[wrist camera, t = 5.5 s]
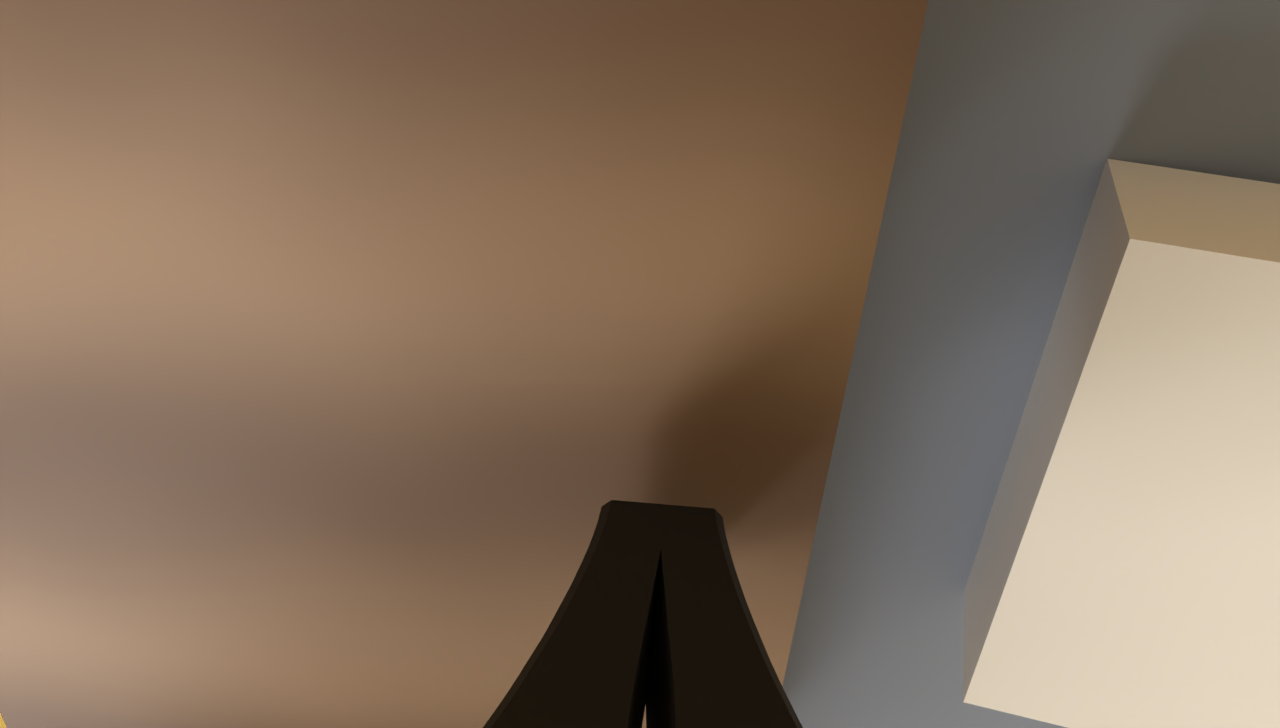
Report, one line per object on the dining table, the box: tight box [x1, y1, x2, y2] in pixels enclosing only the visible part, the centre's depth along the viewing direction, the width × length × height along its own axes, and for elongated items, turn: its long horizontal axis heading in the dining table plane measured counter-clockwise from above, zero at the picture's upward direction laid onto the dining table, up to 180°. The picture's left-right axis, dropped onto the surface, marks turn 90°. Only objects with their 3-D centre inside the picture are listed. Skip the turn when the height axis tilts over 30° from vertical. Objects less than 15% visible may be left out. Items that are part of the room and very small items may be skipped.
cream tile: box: [963, 159, 1280, 728], centre depth 14 cm, size 8×6×2 cm
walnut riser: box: [0, 0, 929, 728], centre depth 15 cm, size 18×12×4 cm, turn 176°
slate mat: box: [782, 0, 1280, 728], centre depth 16 cm, size 18×12×1 cm, turn 176°
